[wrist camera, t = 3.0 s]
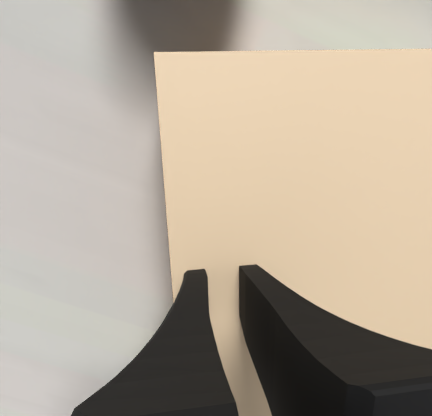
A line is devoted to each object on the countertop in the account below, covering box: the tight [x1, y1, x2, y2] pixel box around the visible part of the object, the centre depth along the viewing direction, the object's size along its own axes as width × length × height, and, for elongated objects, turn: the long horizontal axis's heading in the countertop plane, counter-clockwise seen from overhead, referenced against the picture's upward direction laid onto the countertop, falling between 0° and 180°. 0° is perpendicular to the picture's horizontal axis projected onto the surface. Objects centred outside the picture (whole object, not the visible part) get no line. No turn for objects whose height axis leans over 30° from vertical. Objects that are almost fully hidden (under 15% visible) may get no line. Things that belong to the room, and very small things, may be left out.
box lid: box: [154, 49, 432, 416], centre depth 12 cm, size 12×15×1 cm
